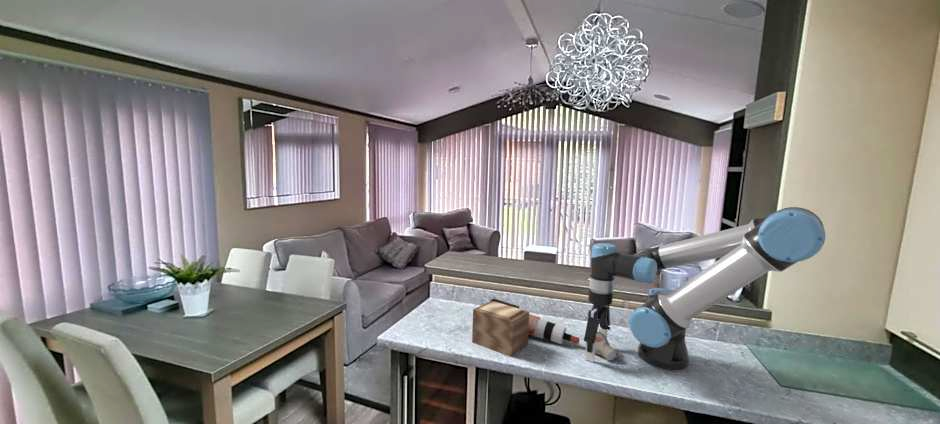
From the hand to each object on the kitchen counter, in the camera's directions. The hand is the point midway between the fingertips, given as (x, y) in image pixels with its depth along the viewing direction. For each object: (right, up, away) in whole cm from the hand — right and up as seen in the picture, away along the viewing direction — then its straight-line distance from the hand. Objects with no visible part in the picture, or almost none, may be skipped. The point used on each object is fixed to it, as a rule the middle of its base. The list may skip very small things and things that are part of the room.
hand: (596, 353), depth 130 cm
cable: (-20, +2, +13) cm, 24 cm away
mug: (+2, -1, 0) cm, 2 cm away
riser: (-32, +1, +6) cm, 32 cm away
